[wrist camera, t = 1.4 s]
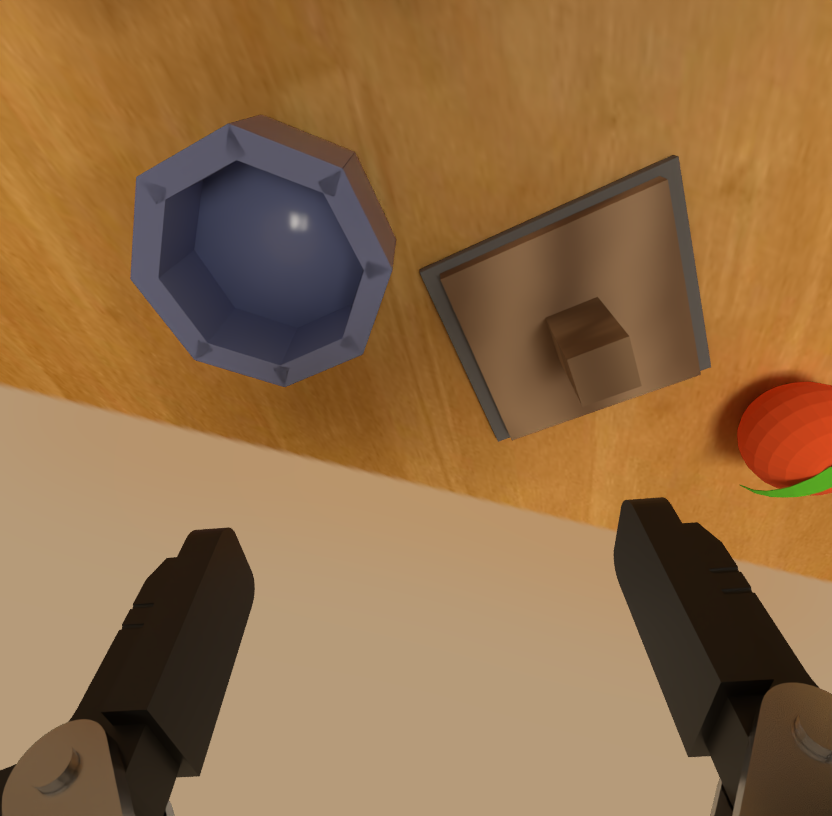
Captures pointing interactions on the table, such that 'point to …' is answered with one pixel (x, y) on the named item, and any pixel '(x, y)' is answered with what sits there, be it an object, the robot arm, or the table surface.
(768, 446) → the clementine
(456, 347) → the mat
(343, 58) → the table surface
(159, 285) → the bowl
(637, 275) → the lid
